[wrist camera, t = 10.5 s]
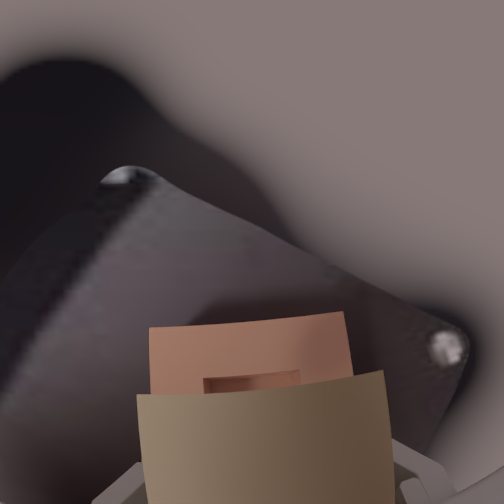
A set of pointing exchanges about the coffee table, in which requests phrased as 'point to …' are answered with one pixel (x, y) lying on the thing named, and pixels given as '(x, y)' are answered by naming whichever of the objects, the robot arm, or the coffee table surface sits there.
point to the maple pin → (270, 445)
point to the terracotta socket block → (249, 355)
